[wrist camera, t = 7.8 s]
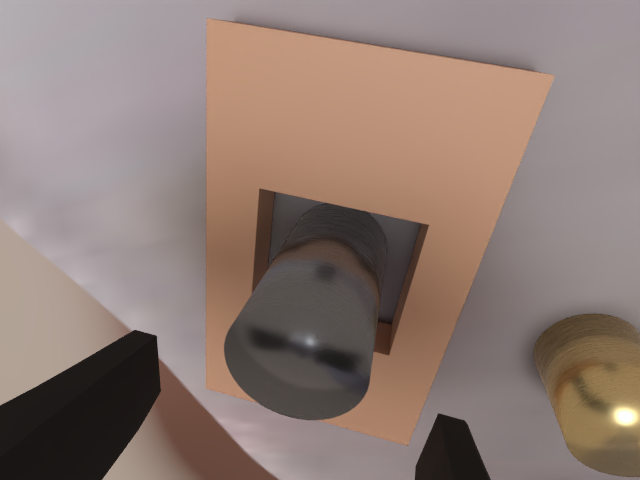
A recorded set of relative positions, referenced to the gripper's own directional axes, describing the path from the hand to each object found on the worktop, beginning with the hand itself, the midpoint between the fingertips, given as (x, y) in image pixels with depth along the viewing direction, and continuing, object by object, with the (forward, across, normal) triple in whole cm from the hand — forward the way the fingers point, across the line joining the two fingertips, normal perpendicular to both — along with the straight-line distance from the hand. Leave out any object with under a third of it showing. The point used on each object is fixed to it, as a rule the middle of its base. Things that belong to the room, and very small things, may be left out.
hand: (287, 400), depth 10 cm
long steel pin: (+8, 0, 0) cm, 8 cm away
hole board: (+8, 0, 0) cm, 8 cm away
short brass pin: (+8, -11, +2) cm, 14 cm away
